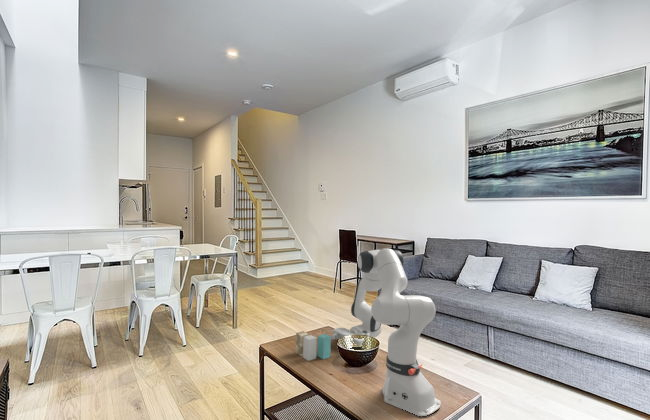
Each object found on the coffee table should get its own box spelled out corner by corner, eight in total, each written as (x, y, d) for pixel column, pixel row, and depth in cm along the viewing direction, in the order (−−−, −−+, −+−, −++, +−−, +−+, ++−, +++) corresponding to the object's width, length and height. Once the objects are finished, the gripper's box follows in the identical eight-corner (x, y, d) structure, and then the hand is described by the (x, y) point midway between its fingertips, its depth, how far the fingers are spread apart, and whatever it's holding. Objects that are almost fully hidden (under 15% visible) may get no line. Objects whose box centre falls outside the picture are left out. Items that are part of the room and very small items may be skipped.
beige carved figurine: (308, 353, 165) (308, 333, 165) (301, 356, 162) (301, 335, 162) (302, 350, 169) (303, 331, 169) (295, 353, 166) (296, 333, 166)
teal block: (330, 356, 163) (330, 336, 163) (323, 359, 160) (324, 338, 160) (324, 353, 166) (324, 333, 166) (317, 356, 163) (317, 335, 163)
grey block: (316, 358, 161) (316, 337, 161) (308, 361, 158) (309, 339, 158) (310, 355, 164) (310, 334, 164) (302, 357, 161) (303, 336, 161)
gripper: (343, 323, 186) (325, 328, 177) (371, 334, 171) (352, 341, 162) (343, 334, 186) (324, 340, 177) (371, 346, 171) (352, 354, 162)
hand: (338, 340), depth 169 cm, fingers open, 8 cm apart
